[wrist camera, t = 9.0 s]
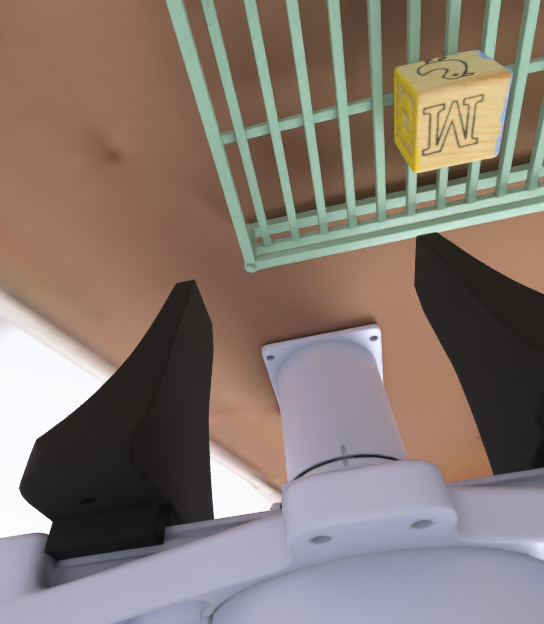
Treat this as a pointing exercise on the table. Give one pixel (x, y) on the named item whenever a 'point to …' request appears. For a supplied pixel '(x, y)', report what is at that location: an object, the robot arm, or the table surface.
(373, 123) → the rack
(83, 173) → the table surface
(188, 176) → the table surface
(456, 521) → the robot arm
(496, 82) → the alphabet block
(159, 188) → the table surface
